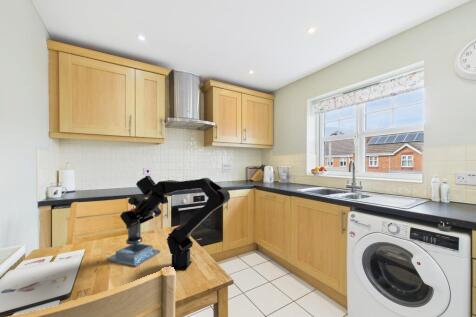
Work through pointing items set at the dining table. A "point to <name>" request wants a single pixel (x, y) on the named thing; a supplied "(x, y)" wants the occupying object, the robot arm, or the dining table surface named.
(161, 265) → the dining table surface
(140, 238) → the dark upright cylinder piece
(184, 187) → the robot arm
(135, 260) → the flange socket
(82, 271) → the dining table surface
